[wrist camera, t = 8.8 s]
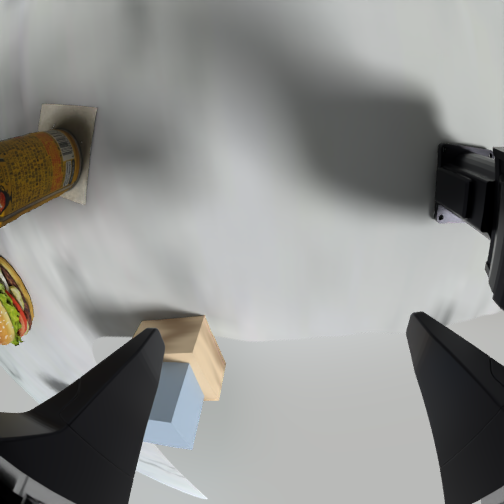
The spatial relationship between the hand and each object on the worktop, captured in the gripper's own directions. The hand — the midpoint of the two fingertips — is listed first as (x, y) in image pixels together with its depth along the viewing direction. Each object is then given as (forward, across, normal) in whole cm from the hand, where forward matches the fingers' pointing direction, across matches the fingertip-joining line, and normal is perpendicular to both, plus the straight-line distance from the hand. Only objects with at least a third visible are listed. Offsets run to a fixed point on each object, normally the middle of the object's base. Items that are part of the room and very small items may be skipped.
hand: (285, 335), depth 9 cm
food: (+13, +38, +6) cm, 40 cm away
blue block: (+8, +10, +13) cm, 18 cm away
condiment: (+13, +18, -8) cm, 23 cm away
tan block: (+13, +11, +13) cm, 21 cm away
